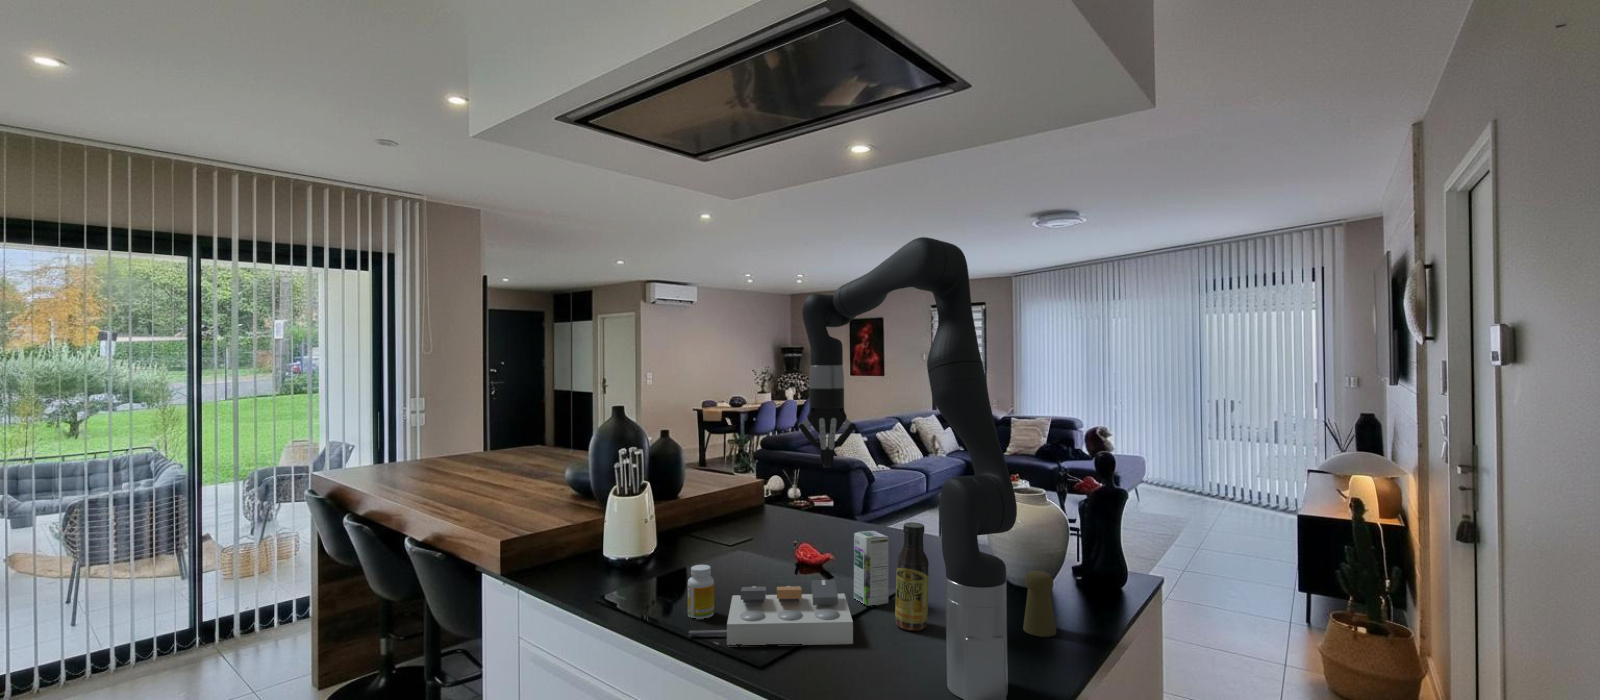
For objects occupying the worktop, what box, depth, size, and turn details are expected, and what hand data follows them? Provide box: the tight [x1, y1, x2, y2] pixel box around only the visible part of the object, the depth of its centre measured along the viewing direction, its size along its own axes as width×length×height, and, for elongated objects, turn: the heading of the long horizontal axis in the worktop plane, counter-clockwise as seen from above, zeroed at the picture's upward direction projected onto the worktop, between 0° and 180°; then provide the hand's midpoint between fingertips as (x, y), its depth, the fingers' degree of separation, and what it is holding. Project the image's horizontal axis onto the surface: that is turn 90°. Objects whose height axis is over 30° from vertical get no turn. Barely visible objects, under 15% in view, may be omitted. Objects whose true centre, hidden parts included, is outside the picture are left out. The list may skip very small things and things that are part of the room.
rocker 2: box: [776, 585, 803, 602], centre depth 128 cm, size 6×5×3 cm
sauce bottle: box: [894, 521, 930, 632], centre depth 127 cm, size 6×6×20 cm
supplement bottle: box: [687, 564, 715, 620], centre depth 133 cm, size 5×5×10 cm
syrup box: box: [853, 530, 889, 606], centre depth 141 cm, size 6×6×14 cm
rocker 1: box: [740, 585, 767, 603], centre depth 128 cm, size 6×5×3 cm
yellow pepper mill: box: [1022, 570, 1057, 638], centre depth 125 cm, size 6×6×11 cm
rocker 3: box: [810, 579, 838, 605], centre depth 129 cm, size 6×5×3 cm
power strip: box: [688, 593, 854, 646], centre depth 126 cm, size 15×30×4 cm, turn 92°
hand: (827, 466), depth 140 cm, fingers closed
